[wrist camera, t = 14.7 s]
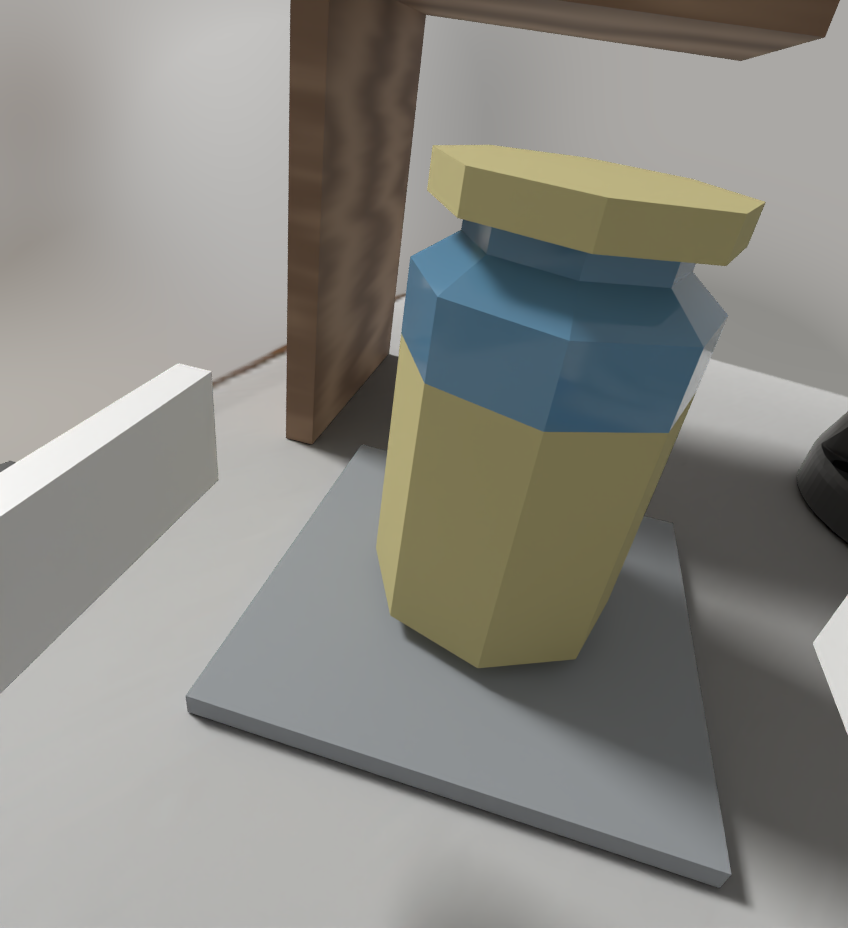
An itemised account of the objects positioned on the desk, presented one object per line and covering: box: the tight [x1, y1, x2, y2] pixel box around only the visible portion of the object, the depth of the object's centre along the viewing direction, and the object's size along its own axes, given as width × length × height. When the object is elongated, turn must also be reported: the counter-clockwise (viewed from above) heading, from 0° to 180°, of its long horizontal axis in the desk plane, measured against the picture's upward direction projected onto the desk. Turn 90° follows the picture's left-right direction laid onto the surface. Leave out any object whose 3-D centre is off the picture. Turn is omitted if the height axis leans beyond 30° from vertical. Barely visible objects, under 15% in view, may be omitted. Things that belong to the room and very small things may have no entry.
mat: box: [186, 445, 731, 888], centre depth 24 cm, size 16×16×1 cm
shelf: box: [286, 0, 840, 444], centre depth 31 cm, size 14×18×22 cm
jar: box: [376, 145, 765, 668], centre depth 20 cm, size 9×9×15 cm
